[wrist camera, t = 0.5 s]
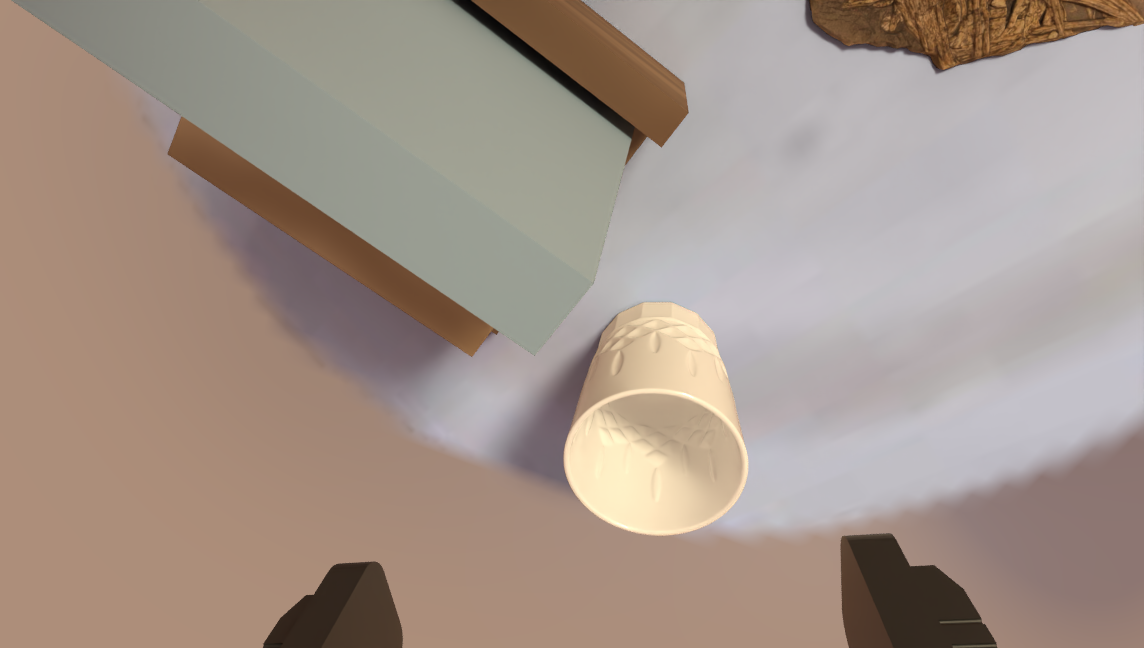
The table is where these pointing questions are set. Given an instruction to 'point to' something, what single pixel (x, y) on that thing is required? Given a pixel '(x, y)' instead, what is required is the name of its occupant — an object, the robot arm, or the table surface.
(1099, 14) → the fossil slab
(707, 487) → the white cup
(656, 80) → the rack
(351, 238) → the short oak offcut
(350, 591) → the robot arm
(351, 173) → the tall board
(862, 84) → the table surface
